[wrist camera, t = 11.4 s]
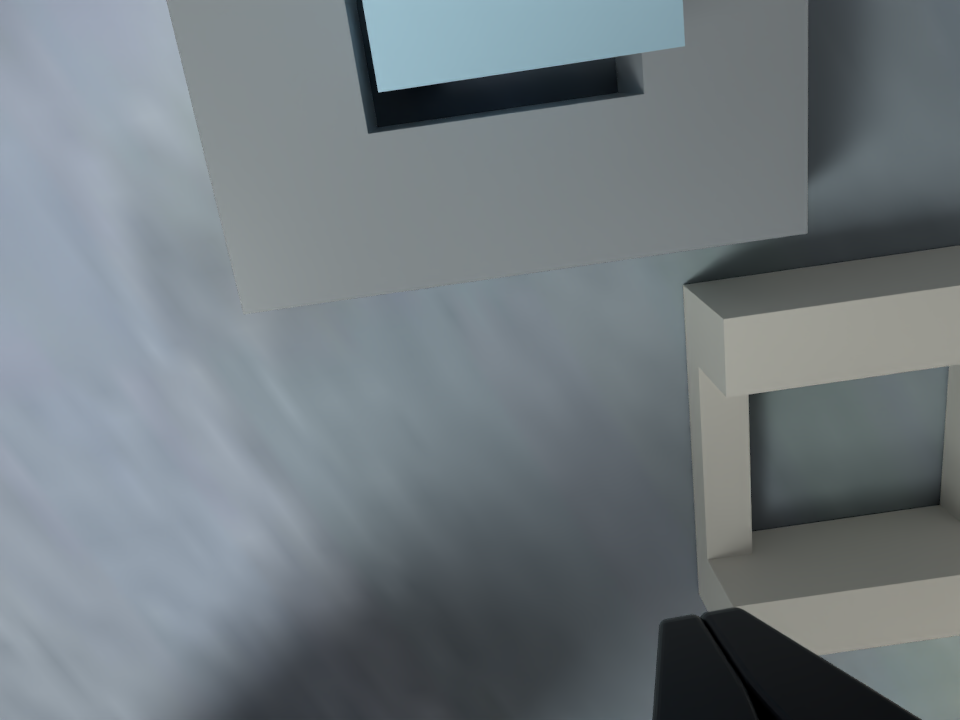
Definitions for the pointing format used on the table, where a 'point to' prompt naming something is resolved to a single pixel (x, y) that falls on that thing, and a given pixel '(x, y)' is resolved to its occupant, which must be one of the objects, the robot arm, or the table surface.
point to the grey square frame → (811, 361)
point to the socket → (487, 154)
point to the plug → (509, 35)
